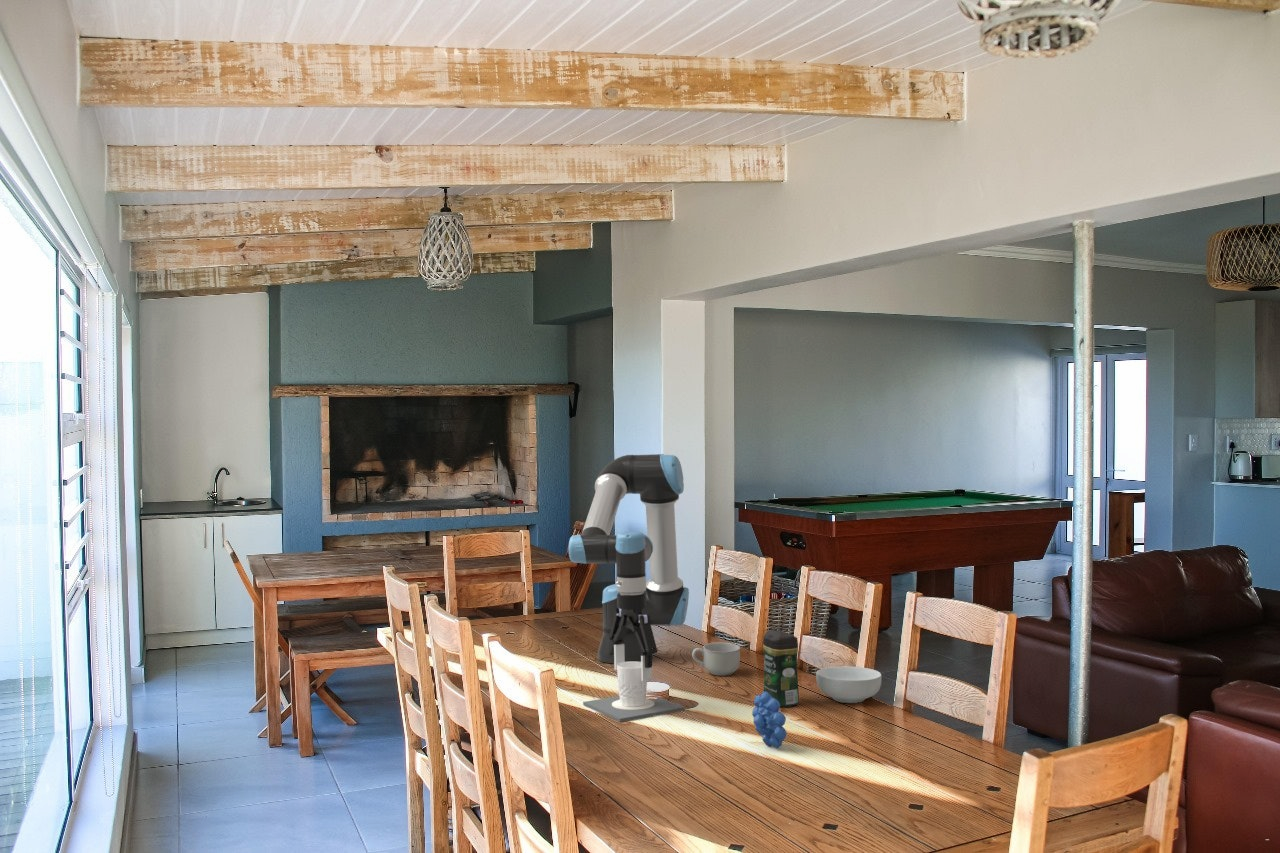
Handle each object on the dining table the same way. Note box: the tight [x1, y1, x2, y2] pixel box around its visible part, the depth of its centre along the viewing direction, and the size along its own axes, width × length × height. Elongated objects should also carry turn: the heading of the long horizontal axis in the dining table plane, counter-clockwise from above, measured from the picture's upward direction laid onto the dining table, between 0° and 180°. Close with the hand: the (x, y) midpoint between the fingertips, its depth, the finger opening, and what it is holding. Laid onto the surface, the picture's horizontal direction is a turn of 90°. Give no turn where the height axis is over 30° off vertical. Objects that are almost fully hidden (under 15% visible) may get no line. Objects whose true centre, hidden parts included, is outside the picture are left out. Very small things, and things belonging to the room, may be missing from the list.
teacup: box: [691, 641, 741, 677], centre depth 314 cm, size 14×11×8 cm
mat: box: [582, 695, 685, 723], centre depth 278 cm, size 19×19×1 cm
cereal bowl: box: [815, 665, 882, 704], centre depth 283 cm, size 17×17×7 cm
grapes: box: [751, 691, 787, 749], centre depth 244 cm, size 12×7×12 cm, turn 28°
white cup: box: [616, 661, 648, 707], centre depth 278 cm, size 8×8×10 cm
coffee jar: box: [762, 629, 800, 708], centre depth 280 cm, size 10×8×19 cm
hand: (632, 674), depth 278 cm, fingers open, 13 cm apart
